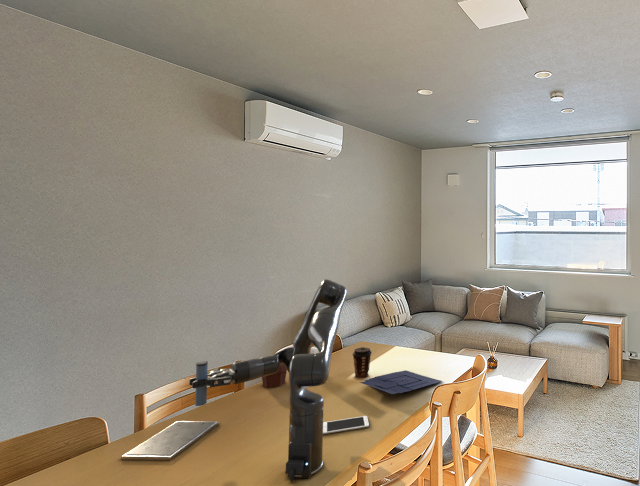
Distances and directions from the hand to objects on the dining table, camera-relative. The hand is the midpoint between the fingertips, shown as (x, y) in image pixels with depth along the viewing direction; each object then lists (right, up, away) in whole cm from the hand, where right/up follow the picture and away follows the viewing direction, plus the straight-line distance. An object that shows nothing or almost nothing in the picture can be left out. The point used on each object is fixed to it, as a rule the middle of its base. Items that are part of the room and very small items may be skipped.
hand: (191, 383), depth 132 cm
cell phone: (+49, -19, +8) cm, 53 cm away
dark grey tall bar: (+2, -8, +2) cm, 8 cm away
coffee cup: (+41, -20, +55) cm, 72 cm away
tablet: (-4, -18, -2) cm, 18 cm away
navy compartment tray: (+62, -20, +44) cm, 79 cm away
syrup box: (+21, -20, +53) cm, 61 cm away
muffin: (+4, -20, +46) cm, 50 cm away
